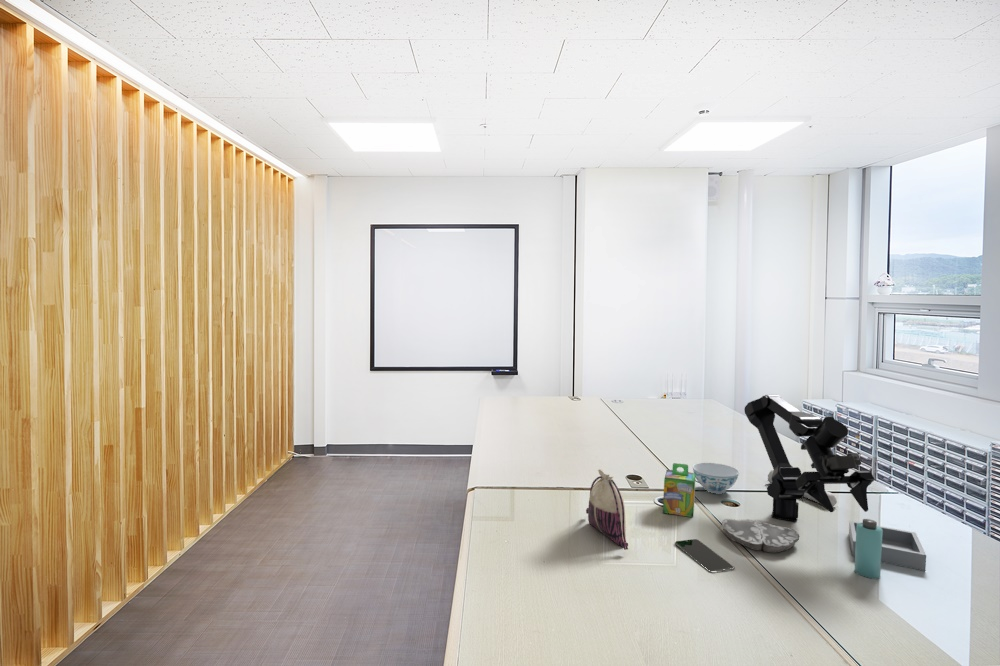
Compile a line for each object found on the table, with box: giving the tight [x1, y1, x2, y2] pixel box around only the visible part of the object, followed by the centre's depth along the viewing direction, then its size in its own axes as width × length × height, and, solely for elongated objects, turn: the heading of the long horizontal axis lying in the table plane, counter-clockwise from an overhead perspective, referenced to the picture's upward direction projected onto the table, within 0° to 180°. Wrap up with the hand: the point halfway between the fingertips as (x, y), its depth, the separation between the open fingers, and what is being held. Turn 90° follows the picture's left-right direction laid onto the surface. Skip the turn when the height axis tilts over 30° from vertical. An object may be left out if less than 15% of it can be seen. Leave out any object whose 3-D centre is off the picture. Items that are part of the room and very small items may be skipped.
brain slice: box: [721, 518, 801, 553], centre depth 145 cm, size 20×17×3 cm
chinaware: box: [692, 462, 740, 495], centre depth 185 cm, size 15×15×8 cm
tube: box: [767, 469, 838, 507], centre depth 181 cm, size 5×5×25 cm
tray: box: [848, 520, 927, 571], centre depth 140 cm, size 15×15×4 cm
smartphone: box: [674, 538, 736, 572], centre depth 137 cm, size 7×1×16 cm
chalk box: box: [662, 462, 696, 518], centre depth 166 cm, size 9×9×15 cm
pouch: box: [585, 468, 629, 550], centre depth 149 cm, size 25×8×19 cm, turn 22°
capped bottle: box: [853, 518, 883, 580], centre depth 128 cm, size 5×5×13 cm
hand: (849, 511), depth 135 cm, fingers open, 9 cm apart
